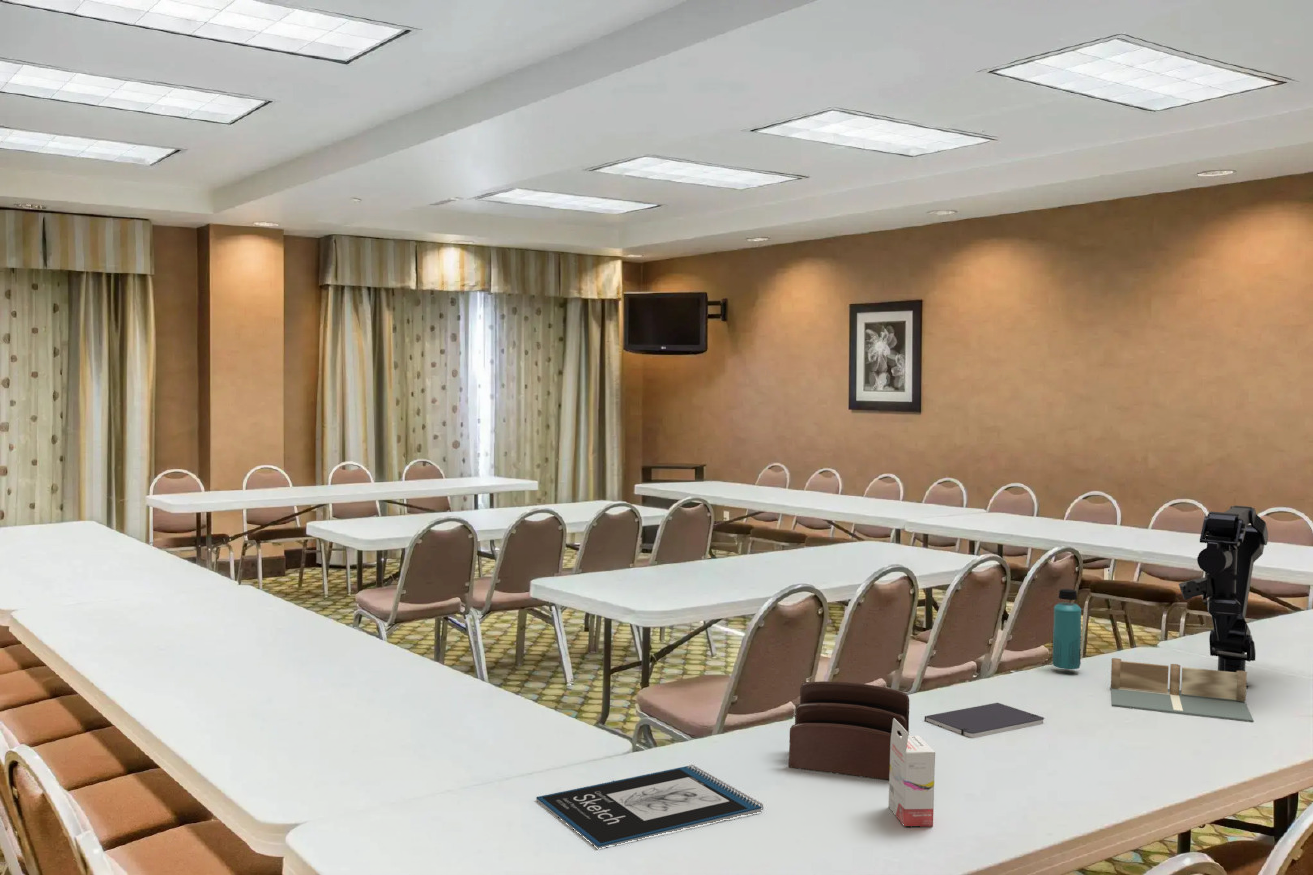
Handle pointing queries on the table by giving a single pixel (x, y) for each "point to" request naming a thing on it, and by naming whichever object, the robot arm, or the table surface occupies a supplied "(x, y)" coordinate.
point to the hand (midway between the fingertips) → (1219, 638)
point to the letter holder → (846, 728)
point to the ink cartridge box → (911, 778)
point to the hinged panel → (1214, 683)
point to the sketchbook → (648, 805)
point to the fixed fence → (1145, 676)
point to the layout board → (1181, 704)
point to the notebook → (984, 720)
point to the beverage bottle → (1067, 632)
